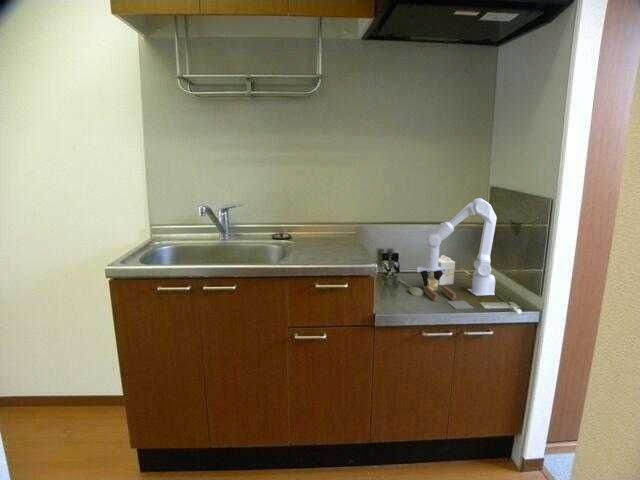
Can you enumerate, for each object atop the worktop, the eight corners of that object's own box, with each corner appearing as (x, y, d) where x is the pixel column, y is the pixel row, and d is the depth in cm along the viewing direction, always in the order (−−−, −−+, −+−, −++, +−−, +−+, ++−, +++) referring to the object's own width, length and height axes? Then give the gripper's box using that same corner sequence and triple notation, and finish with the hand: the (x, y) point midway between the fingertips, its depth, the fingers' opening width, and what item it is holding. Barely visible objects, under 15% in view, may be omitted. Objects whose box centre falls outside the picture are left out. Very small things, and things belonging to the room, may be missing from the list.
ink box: (429, 280, 202) (431, 254, 200) (443, 278, 205) (445, 253, 202) (439, 285, 194) (441, 259, 191) (453, 284, 197) (456, 258, 194)
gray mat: (464, 301, 173) (464, 300, 173) (473, 308, 166) (473, 307, 165) (447, 302, 172) (447, 301, 172) (455, 309, 164) (455, 308, 164)
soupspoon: (412, 298, 179) (425, 298, 181) (413, 291, 179) (426, 291, 180) (392, 281, 200) (404, 281, 202) (393, 275, 199) (405, 275, 201)
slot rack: (444, 291, 185) (445, 285, 185) (455, 300, 175) (456, 293, 174) (424, 292, 184) (424, 286, 183) (434, 301, 173) (434, 294, 173)
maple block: (432, 286, 192) (432, 276, 191) (437, 290, 187) (438, 280, 185) (423, 286, 192) (424, 277, 191) (428, 291, 186) (429, 281, 185)
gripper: (443, 256, 191) (440, 282, 194) (414, 256, 189) (412, 283, 192) (449, 259, 184) (447, 287, 187) (420, 260, 182) (418, 288, 185)
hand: (430, 285), depth 189 cm, fingers closed on maple block, 4 cm apart
